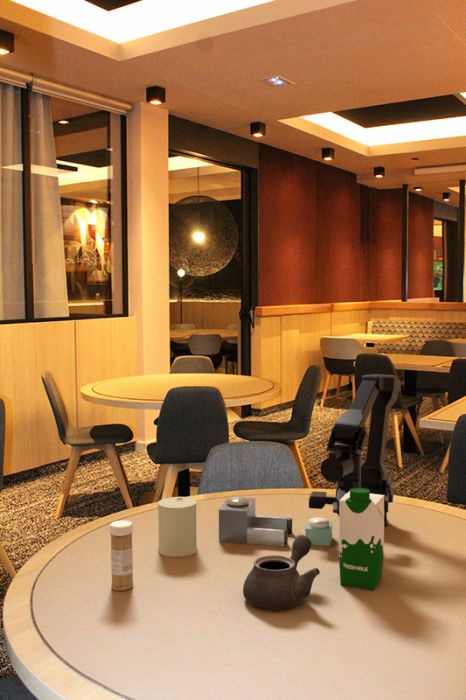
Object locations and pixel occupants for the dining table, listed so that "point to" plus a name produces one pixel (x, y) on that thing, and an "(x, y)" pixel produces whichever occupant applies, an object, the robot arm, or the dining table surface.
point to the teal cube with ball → (319, 531)
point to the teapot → (280, 578)
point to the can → (177, 526)
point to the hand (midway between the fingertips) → (348, 536)
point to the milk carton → (361, 538)
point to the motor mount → (251, 524)
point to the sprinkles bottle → (121, 555)
